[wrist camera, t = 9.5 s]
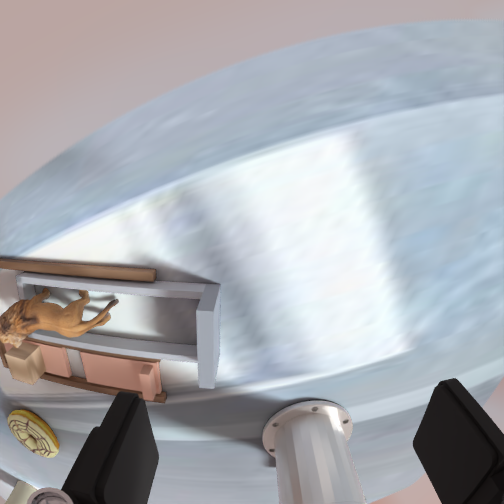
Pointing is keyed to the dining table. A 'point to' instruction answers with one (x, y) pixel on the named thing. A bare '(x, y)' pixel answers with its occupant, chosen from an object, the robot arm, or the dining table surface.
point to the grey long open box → (201, 353)
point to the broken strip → (104, 369)
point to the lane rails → (73, 381)
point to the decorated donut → (33, 433)
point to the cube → (26, 362)
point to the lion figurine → (48, 318)
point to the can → (20, 493)
